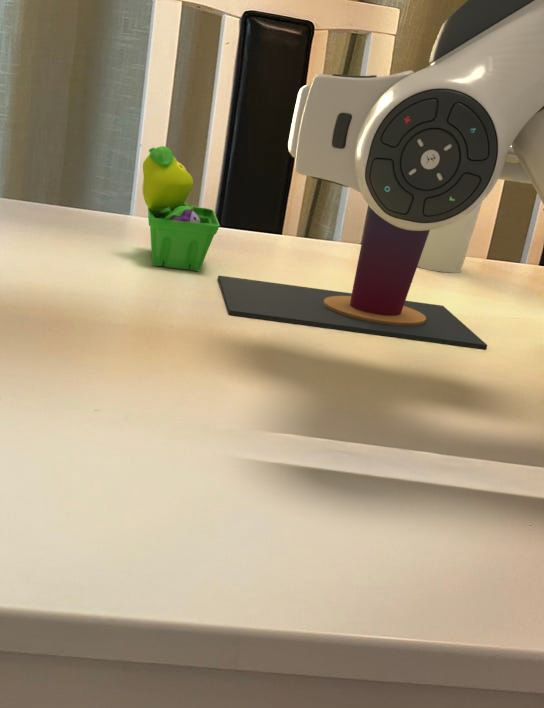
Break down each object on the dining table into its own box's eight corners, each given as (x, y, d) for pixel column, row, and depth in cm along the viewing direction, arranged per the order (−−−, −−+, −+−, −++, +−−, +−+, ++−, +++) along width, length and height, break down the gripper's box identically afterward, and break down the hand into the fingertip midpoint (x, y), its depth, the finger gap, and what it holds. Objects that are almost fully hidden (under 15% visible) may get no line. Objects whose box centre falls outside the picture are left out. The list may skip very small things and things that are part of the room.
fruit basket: (212, 275, 107) (233, 160, 102) (129, 265, 107) (146, 148, 101) (205, 256, 117) (224, 149, 111) (130, 246, 117) (145, 139, 111)
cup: (343, 311, 96) (387, 138, 89) (337, 296, 102) (378, 133, 94) (414, 322, 96) (465, 149, 88) (405, 306, 102) (451, 143, 94)
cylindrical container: (403, 264, 128) (466, 38, 115) (406, 256, 134) (466, 40, 121) (460, 275, 126) (531, 46, 114) (461, 266, 132) (528, 48, 119)
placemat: (442, 309, 106) (444, 302, 106) (486, 349, 93) (488, 341, 92) (217, 279, 106) (218, 272, 106) (228, 314, 93) (230, 306, 92)
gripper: (604, 111, 66) (575, 104, 77) (292, 70, 69) (309, 70, 81) (568, 214, 69) (546, 193, 80) (272, 169, 73) (292, 155, 84)
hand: (425, 131), depth 81 cm, fingers open, 8 cm apart
